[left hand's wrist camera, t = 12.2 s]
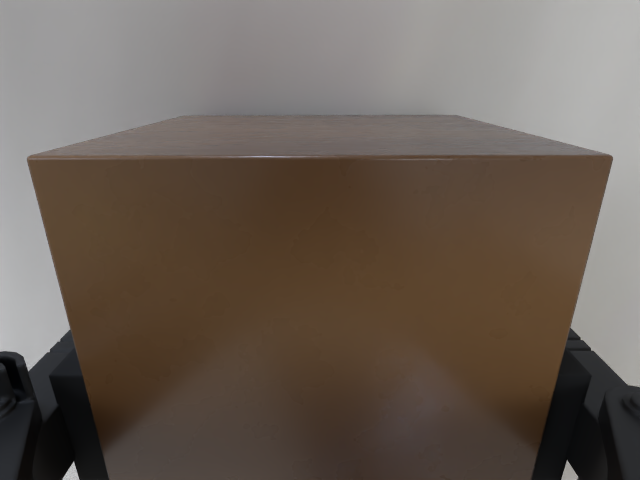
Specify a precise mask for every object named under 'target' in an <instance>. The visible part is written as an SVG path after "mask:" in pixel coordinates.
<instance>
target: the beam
mask: <svg viewBox="0 0 640 480" xmlns="http://www.w3.org/2000/svg"><path fill="white" fill-rule="evenodd" d="M612 161H613V157H612V156H611V155H609V154H605V153H601V152H597V151H593V150H589V149H586V148H582V147H578V146H574V145H570V144H566V143H562V142H558V141H554V140H551V139H547V138H543V137H539V136H535V135H531V134H527V133H523V132H519V131H516V130H512V129H508V128H504V127H500V126H496V125H492V124H488V123H484V122H481V121H477V120H473V119H469V118H465V117H461V116H457V115H359V116H181V117H177V118H173V119H169V120H165V121H162V122H158V123H154V124H150V125H146V126H142V127H138V128H135V129H131V130H127V131H123V132H119V133H115V134H111V135H107V136H104V137H100V138H96V139H92V140H88V141H84V142H80V143H77V144H73V145H69V146H65V147H61V148H57V149H53V150H49V151H46V152H42V153H38V154H34V155H31V156H28V157H27V162H28V166H29V170H30V174H31V177H32V181H33V185H34V189H35V193H36V197H37V201H38V205H39V209H40V212H41V216H42V220H43V224H44V228H45V232H46V236H47V240H48V244H49V247H50V251H51V255H52V259H53V263H54V267H55V271H56V275H57V279H58V282H59V286H60V290H61V294H62V298H63V302H64V306H65V310H66V313H67V317H68V321H69V325H70V329H71V333H72V337H73V341H74V345H75V348H76V352H77V356H78V360H79V364H80V368H81V372H82V376H83V380H84V383H85V387H86V391H87V395H88V399H89V403H90V407H91V411H92V415H93V418H94V422H95V426H96V430H97V434H98V438H99V442H100V446H101V450H102V453H103V457H104V461H105V465H106V469H107V473H108V477H109V480H532V476H533V472H534V468H535V464H536V460H537V456H538V452H539V448H540V444H541V440H542V437H543V433H544V429H545V425H546V421H547V417H548V413H549V409H550V405H551V401H552V397H553V393H554V389H555V385H556V381H557V377H558V374H559V370H560V366H561V362H562V358H563V354H564V350H565V346H566V342H567V338H568V334H569V330H570V326H571V322H572V318H573V314H574V311H575V307H576V303H577V299H578V295H579V291H580V287H581V283H582V279H583V275H584V271H585V267H586V263H587V259H588V255H589V251H590V247H591V244H592V240H593V236H594V232H595V228H596V224H597V220H598V216H599V212H600V208H601V204H602V200H603V196H604V192H605V188H606V184H607V181H608V177H609V173H610V169H611V165H612Z"/></svg>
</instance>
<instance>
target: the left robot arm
mask: <svg viewBox="0 0 640 480" xmlns="http://www.w3.org/2000/svg"><path fill="white" fill-rule="evenodd" d="M567 460H568V461H569V463H570V465H571V466H572V468H573V469H574V471H575V472H576V474H577V475H578V479H577V480H640V387H635V386H629V385H627V384H626V383H625V382H624V381H623V380H622V379H621V378H620V377H619V376H618V375H617V374H616V373H615V372H614V371H613V370H612V369H611V368H610V367H609V366H608V365H607V364H606V363H605V362H604V361H603V360H602V359H601V358H600V357H599V356H598V355H597V354H596V353H595V352H594V351H591V348H590V347H589V346H588V345H587V344H586V343H585V342H584V341H583V340H580V337H579V336H578V335H577V334H576V333H575V332H574V331H573V330H572V329H571V328H570V330H569V334H568V338H567V342H566V346H565V350H564V354H563V358H562V362H561V366H560V370H559V374H558V377H557V381H556V385H555V389H554V393H553V397H552V401H551V405H550V409H549V413H548V417H547V421H546V425H545V429H544V433H543V437H542V440H541V444H540V448H539V452H538V456H537V460H536V464H535V468H534V472H533V476H532V480H561V478H562V474H563V471H564V468H565V464H566V461H567ZM73 461H74V463H75V466H76V469H77V473H78V476H79V479H80V480H109V477H108V473H107V469H106V465H105V461H104V457H103V453H102V450H101V446H100V442H99V438H98V434H97V430H96V426H95V422H94V418H93V415H92V411H91V407H90V403H89V399H88V395H87V391H86V387H85V383H84V380H83V376H82V372H81V368H80V364H79V360H78V356H77V352H76V348H75V345H74V341H73V337H72V333H71V329H70V330H69V331H68V332H67V333H66V334H65V335H64V336H63V337H62V338H61V341H60V342H57V343H56V344H55V345H54V346H53V347H52V348H51V349H50V352H47V353H46V354H45V355H44V356H43V357H42V358H41V359H40V360H39V361H38V363H37V364H36V365H35V366H34V367H33V368H32V369H31V370H30V371H29V372H28V370H27V367H26V363H25V360H24V357H23V356H21V355H20V354H18V353H16V352H7V351H3V352H0V480H63V479H62V478H63V477H64V475H65V474H66V472H67V471H68V469H69V468H70V466H71V464H72V463H73Z"/></svg>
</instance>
